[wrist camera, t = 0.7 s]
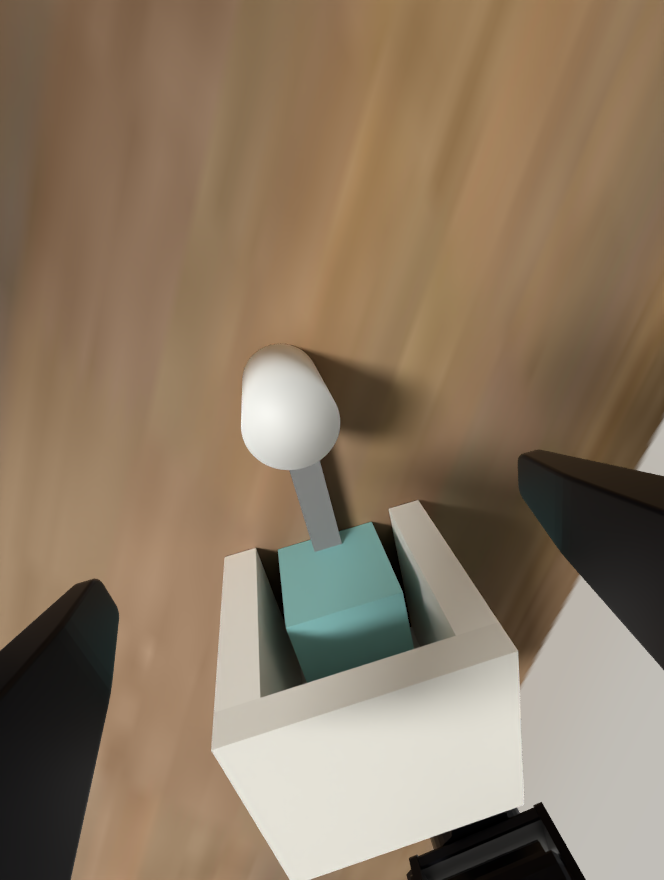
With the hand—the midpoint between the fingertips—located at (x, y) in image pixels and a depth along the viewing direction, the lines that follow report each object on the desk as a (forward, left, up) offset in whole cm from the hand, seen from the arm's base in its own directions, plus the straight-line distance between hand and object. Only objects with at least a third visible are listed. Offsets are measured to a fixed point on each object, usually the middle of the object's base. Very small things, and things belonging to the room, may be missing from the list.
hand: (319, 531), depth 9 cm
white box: (-13, 0, -11) cm, 17 cm away
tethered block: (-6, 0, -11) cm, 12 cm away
